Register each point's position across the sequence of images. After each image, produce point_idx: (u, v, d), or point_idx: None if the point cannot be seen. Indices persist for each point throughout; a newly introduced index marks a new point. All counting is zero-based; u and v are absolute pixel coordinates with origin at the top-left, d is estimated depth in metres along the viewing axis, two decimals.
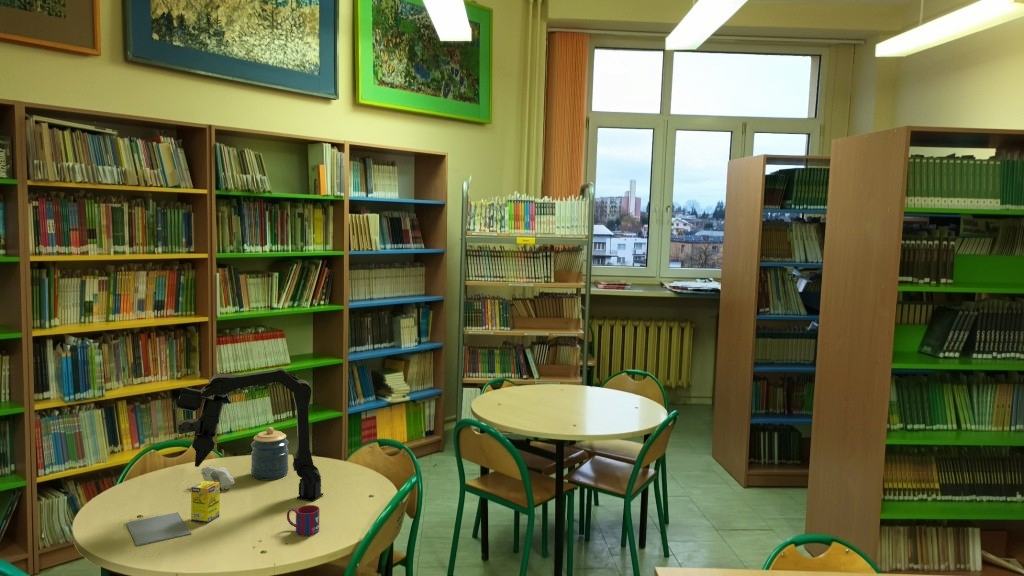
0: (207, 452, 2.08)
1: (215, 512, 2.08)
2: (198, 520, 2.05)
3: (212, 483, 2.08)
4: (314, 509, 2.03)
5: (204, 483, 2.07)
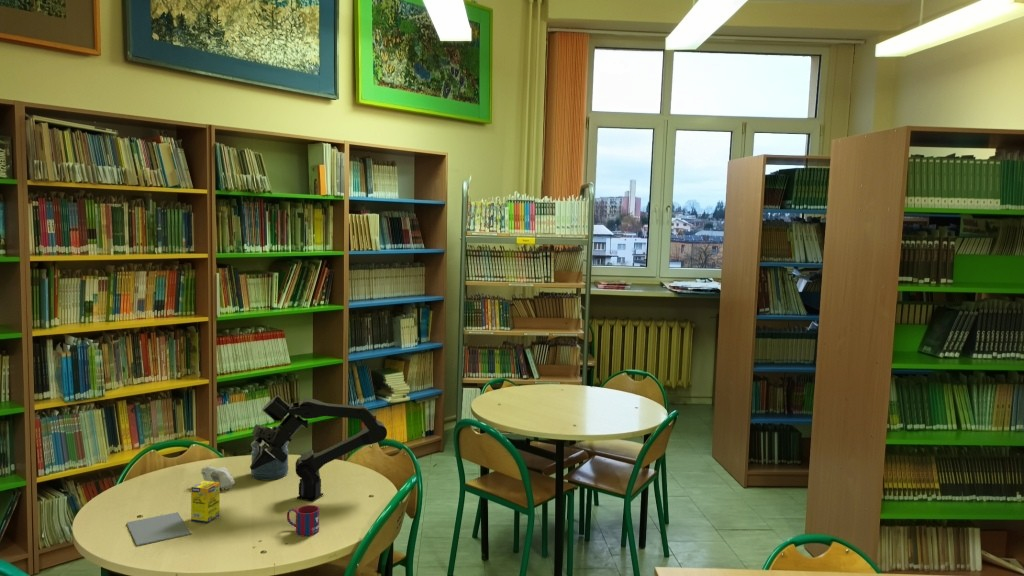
0: (269, 460, 2.18)
1: (215, 512, 2.08)
2: (198, 520, 2.05)
3: (212, 483, 2.08)
4: (314, 509, 2.03)
5: (204, 484, 2.07)
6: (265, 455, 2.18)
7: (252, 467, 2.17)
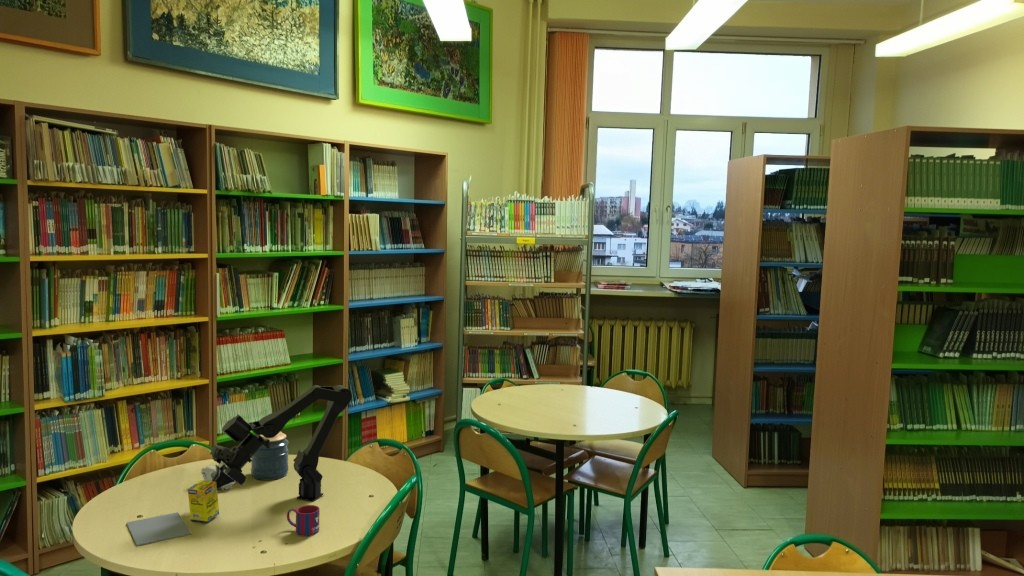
0: (227, 482, 2.11)
1: (215, 511, 2.07)
2: (198, 520, 2.04)
3: (208, 483, 2.06)
4: (314, 509, 2.03)
5: (200, 484, 2.05)
6: (223, 476, 2.10)
7: None
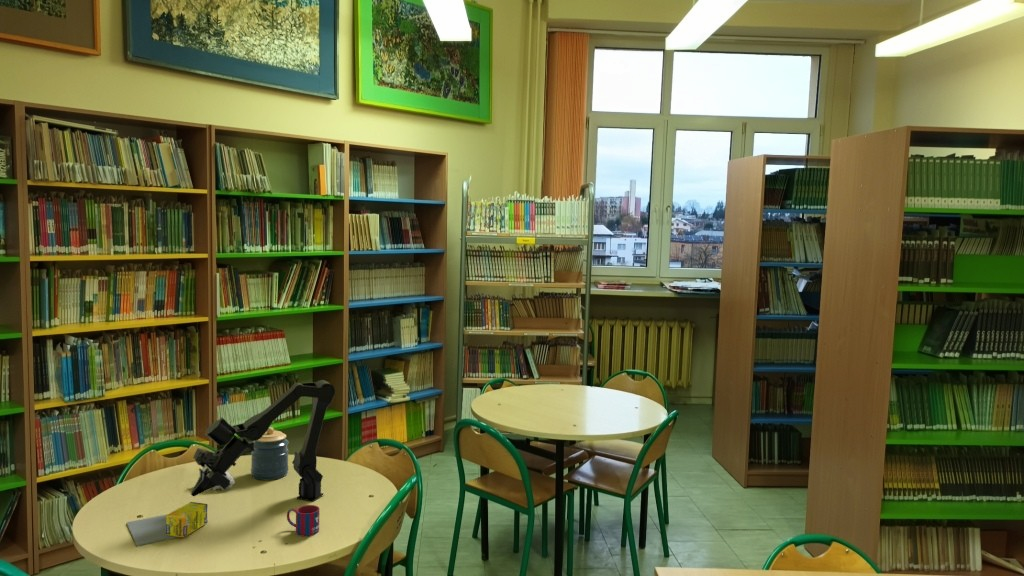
0: (211, 486, 2.08)
1: (203, 512, 2.02)
2: None
3: (178, 522, 1.93)
4: (314, 509, 2.03)
5: (172, 525, 1.94)
6: (207, 480, 2.07)
7: (193, 493, 2.06)
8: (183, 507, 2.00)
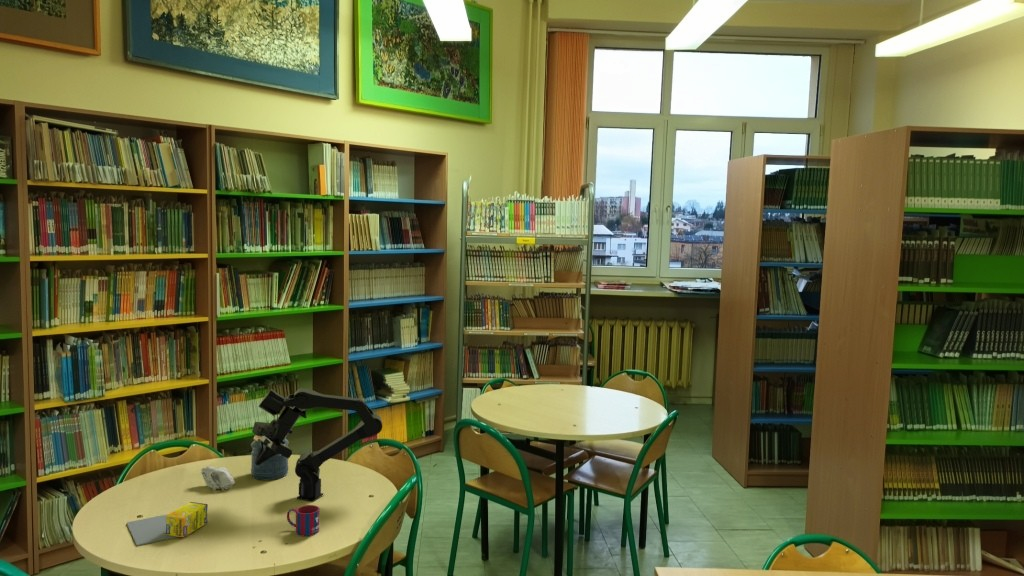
0: (273, 454, 2.20)
1: (203, 512, 2.02)
2: None
3: (178, 522, 1.93)
4: (314, 509, 2.03)
5: (172, 525, 1.94)
6: (268, 450, 2.20)
7: (257, 463, 2.19)
8: (183, 507, 2.00)
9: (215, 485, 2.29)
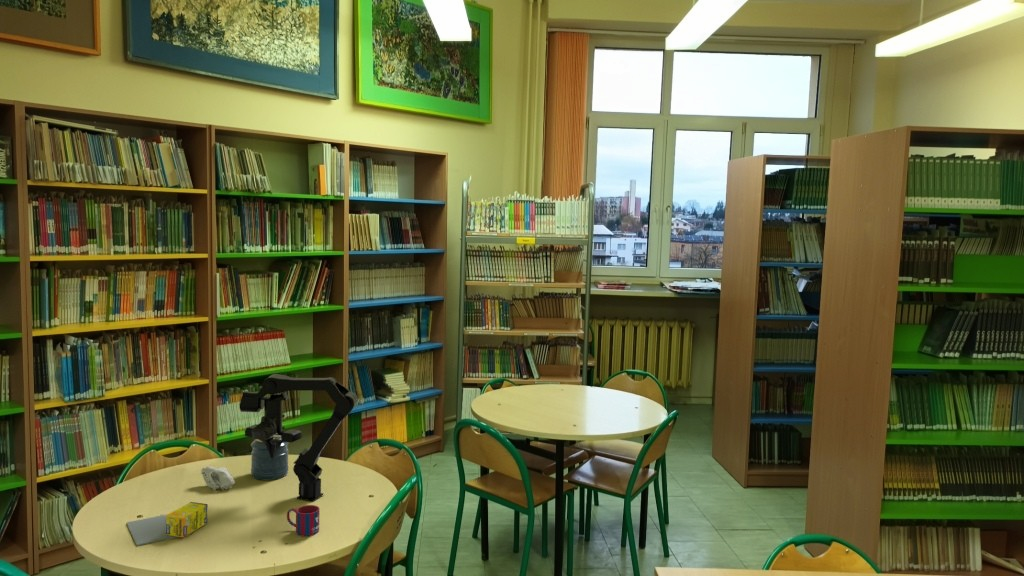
0: (281, 441, 2.27)
1: (203, 512, 2.02)
2: None
3: (178, 522, 1.93)
4: (314, 509, 2.03)
5: (172, 525, 1.94)
6: None
7: (273, 456, 2.26)
8: (183, 507, 2.00)
9: (215, 485, 2.29)
